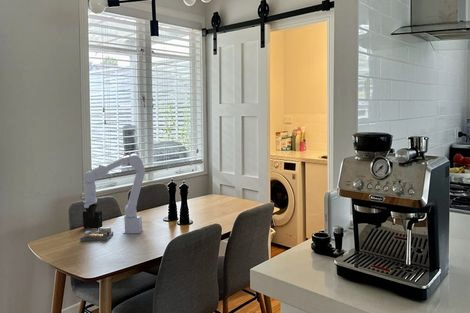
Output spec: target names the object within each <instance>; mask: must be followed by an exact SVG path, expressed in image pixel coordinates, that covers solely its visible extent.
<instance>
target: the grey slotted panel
mask: <svg viewBox="0 0 470 313" xmlns="http://www.w3.org/2000/svg"><path fill="white" fill-rule="evenodd" d="M91 234H103V237H91V236H83V235H82V236H80V242H81V243H83V242H86V243H87V242H88V243H89V242H97V241H101V242H108V241H109V240H110V239H112V237H113V236H114V231H112V227H111V226H110V227H109V226H106V227H105V226H102V227H100V228H99V229H98V231H91ZM107 234H108V235H107Z"/></svg>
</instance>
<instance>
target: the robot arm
mask: <svg viewBox="0 0 470 313" xmlns="http://www.w3.org/2000/svg"><path fill="white" fill-rule="evenodd" d="M129 165H130V167H133V169H134V170H135V177H134V179H133V183H132V188H131V190H130V195H129V199H128V200H127V203H126V204H125V205H124V218H123V219H124V231H123V232H122V234H140V233H141V232H142V231H143V218H142V216H140V215H138V213H137V211H138V210H137V206H138V201H139V196H140V194H141V193H140V192H141V188H142V185H143V182H144V178H145V174H146V169H145V166H144V163H143V161H142V158H140V156H139V154H137V153H130V154H128V155H125V156H123V157H120V158H119V159H117V160H115V161H112V162H111V163H109V164H107V165H106V164H98V166H97V167H96V168H93V169H92V168H91V169H90V170H88V171H86V172H85V173H84V175H83V181H84V200H83V201H82V203H84V204H83V207H84V209H85V210H86V211H87V213H88V216H89V218H93V217H94V216H95V210H97V207H98V203H97V202H98V198H97V189H96V188H97V187H96V180H98V179H100V178H102V177H105V176H107V175H108V174H109V172H110V171H112V170H114V169H116V168H118V167H120V166H129Z"/></svg>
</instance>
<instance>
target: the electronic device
mask: <svg viewBox="0 0 470 313" xmlns="http://www.w3.org/2000/svg"><path fill="white" fill-rule="evenodd" d="M102 212H103V211H102V210H100V209H98V210H97V209H96V210H95V216H94V217H93V218H89V216H88V213H87V211H86V209H85V210H83V211H82V225H83V228H84V229H92V228H97V229H96V230H99V229H98V228H100V227H103V213H102Z"/></svg>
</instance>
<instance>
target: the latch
mask: <svg viewBox="0 0 470 313" xmlns="http://www.w3.org/2000/svg"><path fill="white" fill-rule="evenodd" d="M91 232H92V231H91V230H86V231H84V233H83V235H88V234H91Z"/></svg>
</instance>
